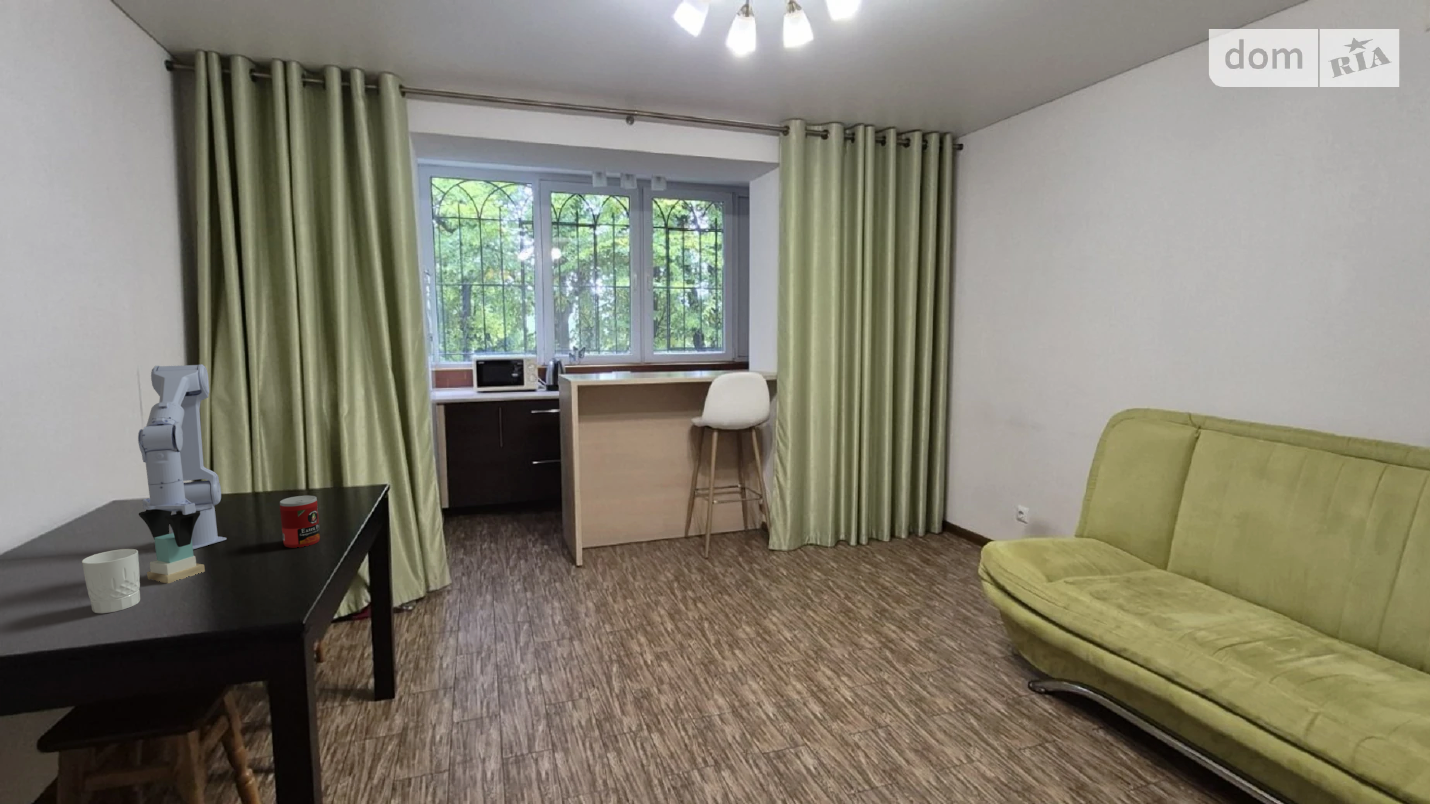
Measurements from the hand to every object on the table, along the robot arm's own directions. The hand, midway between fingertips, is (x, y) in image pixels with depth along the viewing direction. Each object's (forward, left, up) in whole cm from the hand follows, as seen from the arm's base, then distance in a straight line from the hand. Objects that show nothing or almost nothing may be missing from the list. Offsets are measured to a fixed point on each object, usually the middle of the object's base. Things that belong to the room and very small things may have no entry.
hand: (173, 543), depth 139 cm
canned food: (+6, +24, -7) cm, 26 cm away
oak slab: (0, 0, -8) cm, 8 cm away
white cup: (+7, -14, -7) cm, 17 cm away
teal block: (0, 0, -3) cm, 3 cm away
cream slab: (0, 0, -6) cm, 6 cm away
